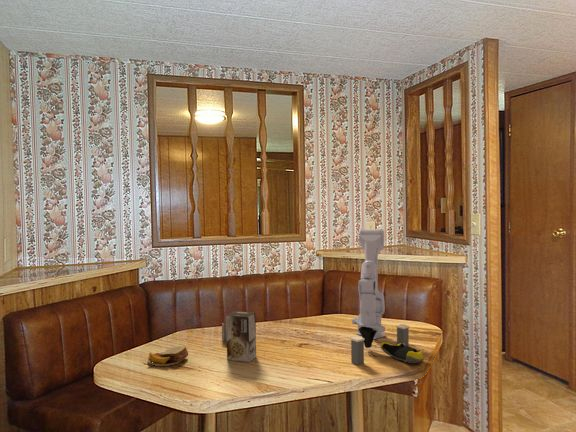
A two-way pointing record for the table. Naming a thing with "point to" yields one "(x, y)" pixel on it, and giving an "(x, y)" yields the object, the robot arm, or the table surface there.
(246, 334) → the coffee box
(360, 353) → the posts
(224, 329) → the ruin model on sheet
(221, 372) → the table surface
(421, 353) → the black yellow sneaker
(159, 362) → the toy sandwich meal
